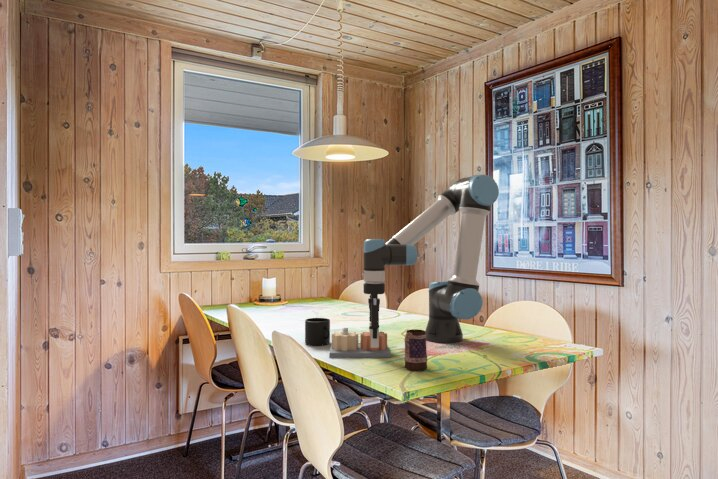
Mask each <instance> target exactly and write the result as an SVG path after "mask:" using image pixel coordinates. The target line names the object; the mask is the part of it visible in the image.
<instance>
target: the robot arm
mask: <svg viewBox="0 0 718 479" xmlns="http://www.w3.org/2000/svg"><path fill="white" fill-rule="evenodd" d="M499 190H500V188H499V186H498V183H497V182H496V180H495V179H494V178H493V177H491V175H490V176H489V175H487V174H475V175H472V176H468V177H463V178H460V179H458V180H456V181H455V182H453V183H452V184H451V185H450V186H449V187H447V188H446V189H445V190H444V191H443V192H442V193H441V194H439V195H438V196H437V200H436V201H435V202H434V203H432V204H431V205H429V207H428V208H426V209H425V210H424V211H423V212H422V213H420V214H419V215H418V216H417V217H415V218H414V219H413V220H412V221H410V223H408V224H407V225H406V226H404V227H403V228H402V229H401V230H399V232H397V233H396V234H395V235H393V236H392V238H391V237H390V239H389V240H388V241H385V239H384V238H378V239H377V238H366V239H365V240H364V242H363V252H362V253H363V272H362V273H361V276H363V282H364V283H363V293H364V294H365V295H369V298H367V299H368V300H367V302H368V309H369V317H368V320H369V324H368V325H369V326H368V328H369V329H368V332H371V348H379V332H380V331H379V330H380V329H379V328H380V325H379V324H380V322H379V321H380V318H379V314H380V313H379V312H380V305H381V298H379V297H378V295H384V294H385V290H386V289H385V286H386V285H385V283H384V282H385V281H386V266H388V267H389V266H413V265H415V264H416V263H417V261H418V249H417V247H416V245H415V244H417V243H418V242H419V241H420V240H421V239H423V238H424V237H425V236H427V234H428V233H430V232H431V231H433V229H434V228H436V227H437V226H438V225H439V224H440V223H441V222H443V221H444V220H445V219H447V218H448V217H449V216H450V215H451V216H454V215H455V214H456V213H458V212H461V221H460V226H459V234H458V240H457V244H456V254H455V259H454V260H455V261H454V265H453V266H454V268H453V272H452V276H451V277H450V278H449V279H448V280H447V281H433V282H430V283H429V287H428V322H427V324H426V326H425V330H424V331H425V332H426V341H430V342H433V343H444V344H445V343H447V344H449V343H451V344H452V343H459V342H462V341H463V339H464V334H463V330H462V327H461V324H460V321H459V320H471V319H474V318H475V317H476V316H477V315H479V314H480V312H481V310H482V307H483V297H482V295H481V293H480V292H479V290H480V284H479V282H478V281H477V274H478V269H479V268H478V267H479V262H480V255H481V248H482V241H483V233H484V228H485V220H486V217H487V216H488V215H489V214H490V213H491V209H492V205H493V204H494V203H495V202H496V201H497V200H498V198H499V195H500V192H499Z"/></svg>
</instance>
